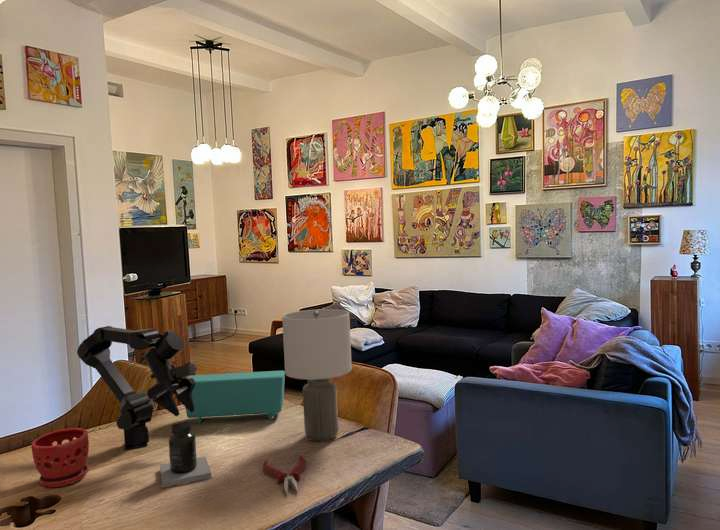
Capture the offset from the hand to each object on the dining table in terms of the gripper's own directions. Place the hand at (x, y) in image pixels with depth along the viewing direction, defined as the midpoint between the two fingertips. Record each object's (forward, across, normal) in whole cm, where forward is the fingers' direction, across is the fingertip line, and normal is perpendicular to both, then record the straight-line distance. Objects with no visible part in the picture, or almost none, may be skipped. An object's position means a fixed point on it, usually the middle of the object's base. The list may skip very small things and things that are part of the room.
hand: (185, 413), depth 159 cm
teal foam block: (+6, +34, +1) cm, 35 cm away
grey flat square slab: (+15, -10, +3) cm, 18 cm away
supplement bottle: (+14, -10, +3) cm, 17 cm away
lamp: (+27, +18, -26) cm, 41 cm away
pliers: (+30, -10, -19) cm, 37 cm away
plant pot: (-1, -15, +31) cm, 34 cm away
